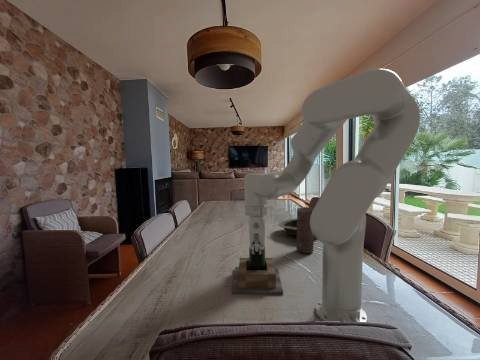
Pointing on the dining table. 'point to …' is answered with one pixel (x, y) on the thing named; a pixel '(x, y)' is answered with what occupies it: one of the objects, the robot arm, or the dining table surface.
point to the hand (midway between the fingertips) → (256, 258)
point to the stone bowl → (290, 226)
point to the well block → (256, 279)
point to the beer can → (262, 259)
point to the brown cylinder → (304, 230)
